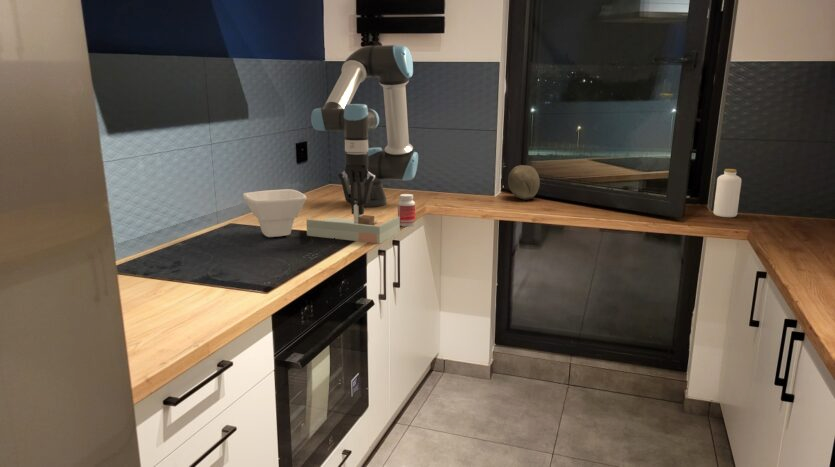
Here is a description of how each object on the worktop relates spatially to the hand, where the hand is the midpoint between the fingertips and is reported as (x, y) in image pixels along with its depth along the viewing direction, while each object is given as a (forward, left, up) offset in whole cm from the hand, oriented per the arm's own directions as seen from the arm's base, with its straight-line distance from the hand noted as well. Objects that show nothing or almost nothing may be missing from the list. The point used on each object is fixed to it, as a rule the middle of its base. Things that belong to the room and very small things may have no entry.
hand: (357, 223), depth 208 cm
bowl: (+9, -26, -5) cm, 28 cm away
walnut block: (-1, +3, -2) cm, 3 cm away
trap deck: (-3, -3, -5) cm, 6 cm away
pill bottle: (-22, +8, -5) cm, 24 cm away
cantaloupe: (-87, +36, -5) cm, 94 cm away
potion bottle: (-84, +116, -5) cm, 144 cm away
